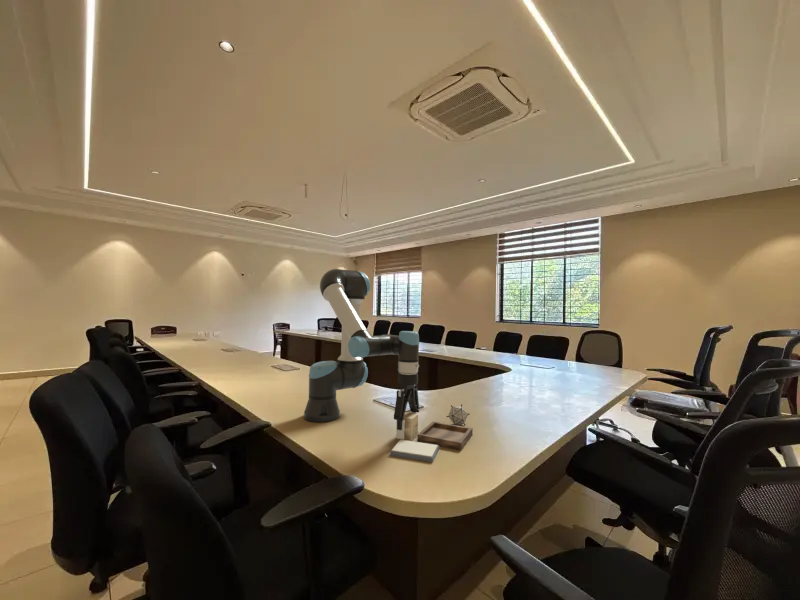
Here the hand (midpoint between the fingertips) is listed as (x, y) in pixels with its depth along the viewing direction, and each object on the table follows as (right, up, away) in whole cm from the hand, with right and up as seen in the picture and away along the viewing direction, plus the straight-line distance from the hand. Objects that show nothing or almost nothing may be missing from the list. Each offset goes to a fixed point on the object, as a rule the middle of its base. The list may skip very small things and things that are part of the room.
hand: (406, 433), depth 123 cm
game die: (+22, -3, +15) cm, 26 cm away
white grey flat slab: (+3, -1, -12) cm, 13 cm away
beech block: (0, -2, +1) cm, 2 cm away
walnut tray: (+15, -2, +1) cm, 15 cm away
